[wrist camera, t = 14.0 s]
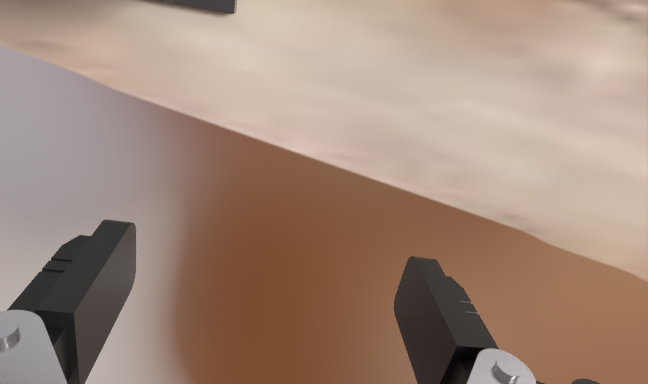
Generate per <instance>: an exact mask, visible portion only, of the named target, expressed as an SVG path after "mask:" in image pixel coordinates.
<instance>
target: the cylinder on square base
mask: <svg viewBox="0 0 648 384" xmlns="http://www.w3.org/2000/svg"><path fill="white" fill-rule="evenodd" d="M162 1H168V2H173V3H179V4H184V5H190V6H195V7H200V8H206V9H211V10H217V11H222V12H228V13H233V14H234V13H236V4H237V0H162Z"/></svg>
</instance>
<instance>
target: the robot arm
mask: <svg viewBox="0 0 648 384" xmlns="http://www.w3.org/2000/svg"><path fill="white" fill-rule="evenodd" d="M135 273H136V227H135V224H134V223H130V222H122V221H113V220H104V221H102V223H101V224H100V225H99V227H98V228H97V229H96V230H95V232H94V233H93V235H92V236H82V235H80V236H78V237H76V238H74V239H73V240H71V241H69V242H67V243H66V244H64V245H62V246H61V247H60V248H59V250H58V251H57V252H56V253H55V254H54V256H53V257H52V258H51V261H49V262H48V263H47V264H46V265H45V266H44V267H43V269H42V272H39V273H38V274H37V276H36V277H35V278H34V279H33V280H32V281H31V283H30V284H29V285H28V286H27V287H26V289H25V290H24V291H23V292H22V293H21V295H20V296H19V297H18V298H17V299H16V300H15V301H14V303H13V304H12V305H11V306H10V307H9V309H8V310H7V311H2V312H0V384H85V381H86V379H87V378H88V376H89V373H90V372H91V369H92V368H93V365H94V364H95V362H96V360H97V357H98V355H99V353H100V352H101V350H102V348H103V346H104V344H105V341H106V339H107V337H108V335H109V333H110V331H111V329H112V327H113V325H114V323H115V321H116V319H117V317H118V315H119V313H120V311H121V309H122V307H123V305H124V303H125V301H126V299H127V297H128V295H129V293H130V291H131V289H132V286H133V282H134V279H135ZM394 312H395V317H396V320H397V323H398V326H399V329H400V332H401V335H402V338H403V341H404V344H405V347H406V350H407V353H408V356H409V359H410V362H411V364H412V367H413V371H414V374H415V377H416V380H417V383H418V384H543V383H541V382H538V381H536V380H535V378H534V376H533V374H532V372H531V371H530V370H529V368H528V367H527V366H526V365H525V364H524V363H523V362H521V361H520V360H519V359H518V358H516V357H515V356H513V355H511V354H509V353H507V352H505V351H502V350H499V348H498V347H497V345H496V343H495V341H494V340H493V338H492V336H491V335H490V333H489V332H488V330H487V328H486V326H485V324H484V323H483V321H482V319H481V318H480V316H479V315H477V311H476V309H475V307H474V306H473V304H471V301H470V299H469V297H468V296H467V294H466V292H465V291H464V289H463V288H462V287H461V286H460V285H459V284H458V283H457V282H456V281H454V279H452V278H451V277H447V276H445V274H444V272H443V270H442V269H441V267H440V265H439V263H438V261H437V260H436V259H432V258H423V257H414V256H411V257H410V258H409V259H408V261H407V263H406V266H405V270H404V272H403V275H402V278H401V281H400V284H399V287H398V290H397V293H396V296H395V301H394ZM572 384H600V383H597V382H595V381H592V380H588V379H577V380H575V381H574V382H572Z"/></svg>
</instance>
